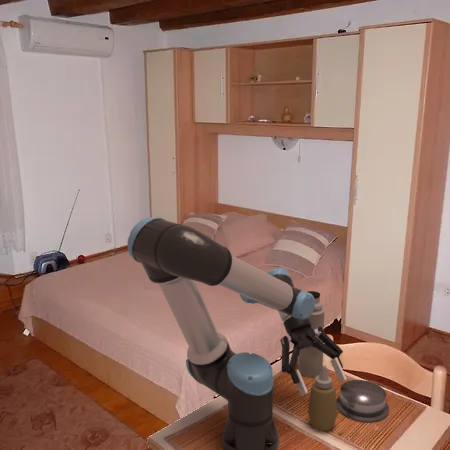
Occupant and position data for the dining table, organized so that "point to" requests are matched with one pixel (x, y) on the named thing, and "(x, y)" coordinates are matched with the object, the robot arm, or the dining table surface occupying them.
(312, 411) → the squeeze bottle
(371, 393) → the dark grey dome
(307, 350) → the thermos bottle
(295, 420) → the dining table surface
